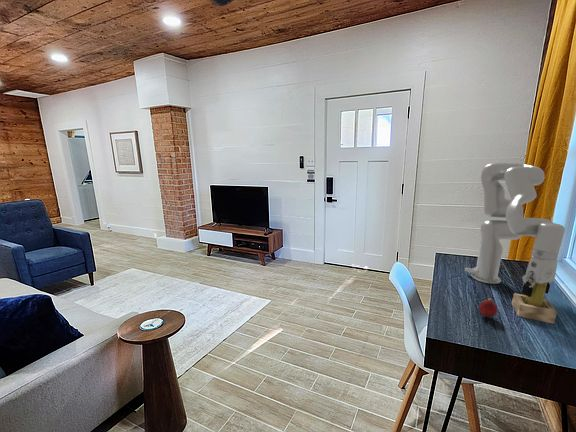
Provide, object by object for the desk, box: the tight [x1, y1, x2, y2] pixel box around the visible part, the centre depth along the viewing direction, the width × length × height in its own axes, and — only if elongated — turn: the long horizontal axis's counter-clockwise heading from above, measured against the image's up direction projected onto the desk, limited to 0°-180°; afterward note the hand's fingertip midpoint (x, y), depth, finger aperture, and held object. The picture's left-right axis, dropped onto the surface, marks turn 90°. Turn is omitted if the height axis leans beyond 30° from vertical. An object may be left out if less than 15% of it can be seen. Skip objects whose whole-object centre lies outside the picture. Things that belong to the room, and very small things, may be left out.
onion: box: [478, 298, 498, 318], centre depth 109 cm, size 6×6×8 cm
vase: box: [524, 279, 547, 307], centre depth 112 cm, size 6×6×14 cm
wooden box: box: [511, 292, 558, 325], centre depth 113 cm, size 11×11×5 cm
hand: (534, 293), depth 112 cm, fingers open, 9 cm apart
